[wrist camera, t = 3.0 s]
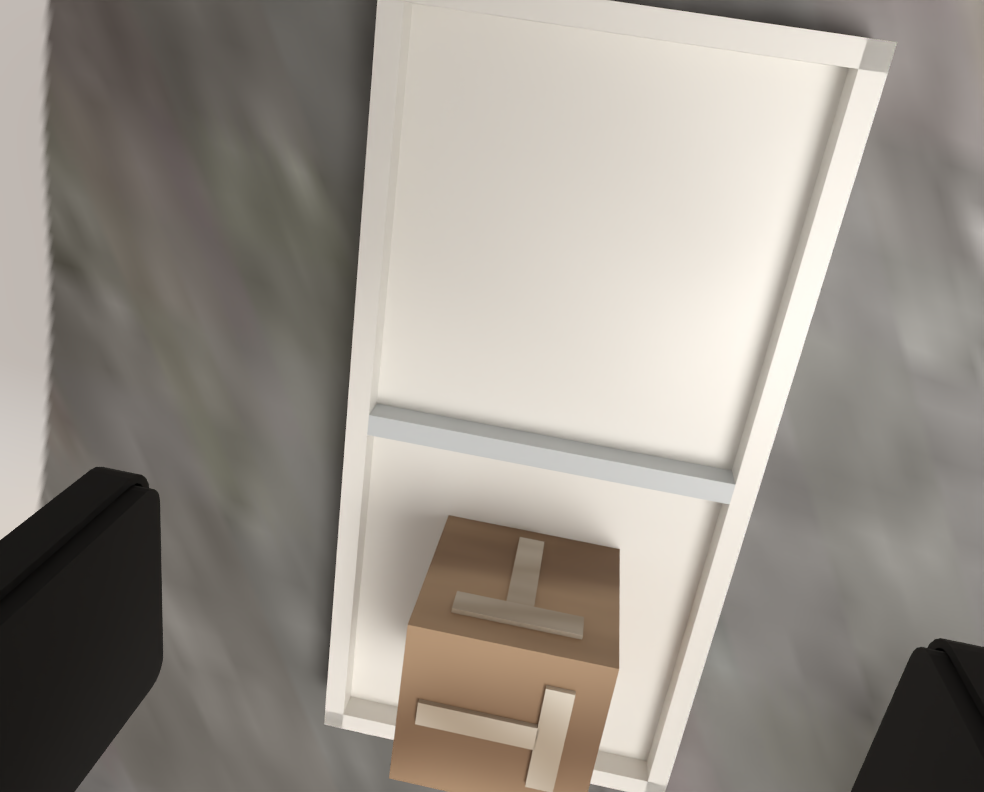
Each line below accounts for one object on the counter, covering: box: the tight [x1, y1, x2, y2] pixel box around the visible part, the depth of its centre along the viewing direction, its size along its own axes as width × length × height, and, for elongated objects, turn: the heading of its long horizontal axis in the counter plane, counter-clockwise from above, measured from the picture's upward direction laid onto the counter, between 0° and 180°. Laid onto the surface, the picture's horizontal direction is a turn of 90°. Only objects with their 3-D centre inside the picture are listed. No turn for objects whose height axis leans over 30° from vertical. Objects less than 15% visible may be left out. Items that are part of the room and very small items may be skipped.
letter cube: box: [389, 515, 620, 792], centre depth 22 cm, size 5×5×5 cm
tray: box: [324, 0, 897, 792], centre depth 22 cm, size 22×11×2 cm, turn 172°
